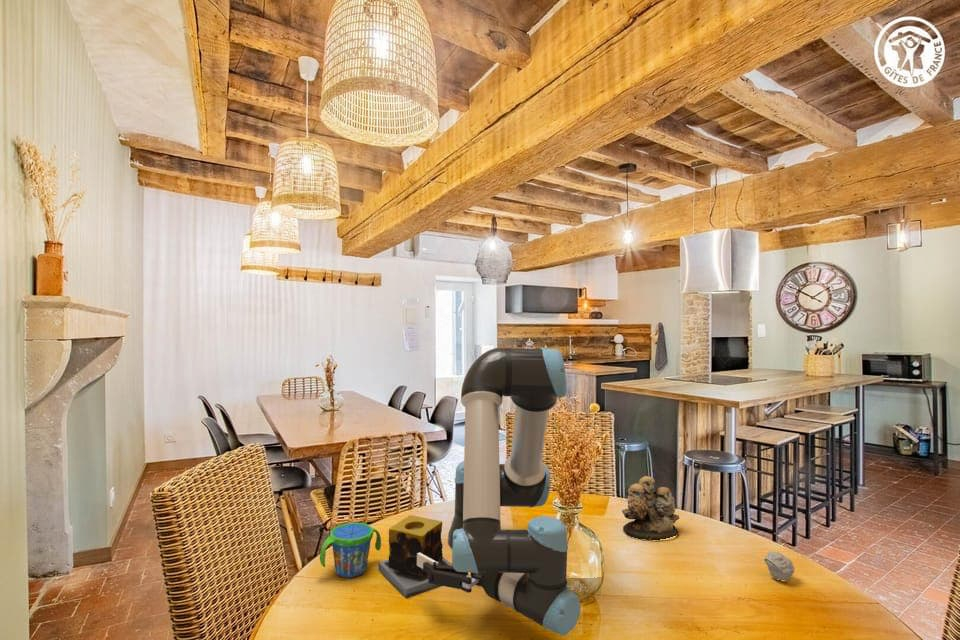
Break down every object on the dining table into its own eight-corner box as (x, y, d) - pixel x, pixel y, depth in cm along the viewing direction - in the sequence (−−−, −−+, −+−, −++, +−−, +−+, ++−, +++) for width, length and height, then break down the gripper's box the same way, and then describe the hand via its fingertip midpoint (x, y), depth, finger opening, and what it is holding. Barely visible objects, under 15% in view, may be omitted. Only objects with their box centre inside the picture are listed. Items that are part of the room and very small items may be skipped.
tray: (429, 554, 130) (429, 547, 130) (460, 578, 117) (460, 570, 118) (378, 570, 121) (378, 562, 121) (405, 598, 109) (406, 589, 109)
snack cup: (373, 554, 129) (373, 517, 129) (388, 572, 120) (389, 531, 120) (313, 570, 120) (314, 529, 120) (325, 590, 111) (326, 546, 112)
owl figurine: (632, 544, 138) (632, 484, 139) (613, 527, 150) (613, 472, 150) (687, 539, 142) (688, 481, 142) (665, 523, 153) (665, 470, 154)
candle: (443, 560, 123) (444, 520, 123) (422, 578, 113) (423, 536, 114) (409, 551, 127) (410, 513, 127) (387, 568, 118) (388, 528, 118)
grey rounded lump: (757, 575, 122) (758, 548, 122) (780, 572, 123) (780, 545, 123) (777, 588, 116) (778, 559, 116) (801, 585, 117) (801, 556, 117)
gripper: (464, 628, 90) (397, 584, 104) (544, 580, 107) (477, 548, 122) (465, 588, 90) (398, 550, 104) (544, 546, 108) (477, 518, 122)
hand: (440, 549), depth 113 cm, fingers open, 13 cm apart
